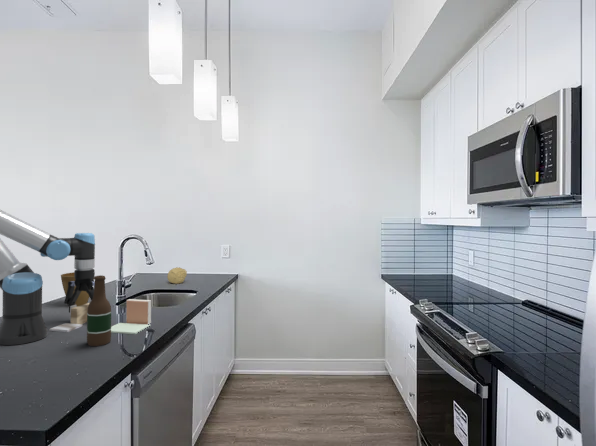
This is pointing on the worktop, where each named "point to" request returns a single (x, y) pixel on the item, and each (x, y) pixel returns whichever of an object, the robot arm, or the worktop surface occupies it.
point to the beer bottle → (99, 315)
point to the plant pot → (82, 296)
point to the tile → (138, 311)
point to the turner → (74, 319)
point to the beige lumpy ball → (176, 275)
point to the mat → (128, 328)
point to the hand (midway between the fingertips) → (84, 321)
